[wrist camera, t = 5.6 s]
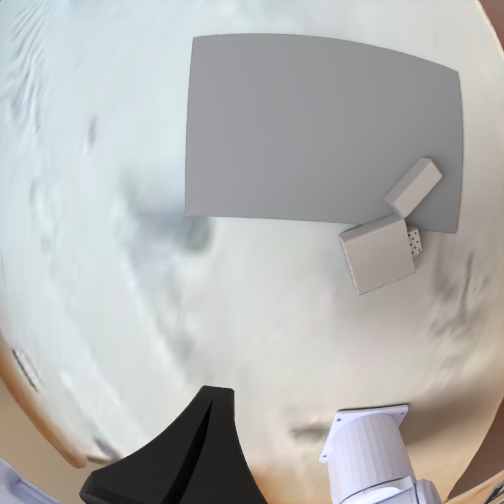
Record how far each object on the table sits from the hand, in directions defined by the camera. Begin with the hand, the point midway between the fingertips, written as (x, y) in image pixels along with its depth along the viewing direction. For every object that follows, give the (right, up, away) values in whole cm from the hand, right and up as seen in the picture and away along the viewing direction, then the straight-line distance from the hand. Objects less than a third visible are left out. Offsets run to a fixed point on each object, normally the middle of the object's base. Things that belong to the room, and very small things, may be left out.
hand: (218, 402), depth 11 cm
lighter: (+7, +7, +7) cm, 12 cm away
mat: (+7, +15, +5) cm, 17 cm away
